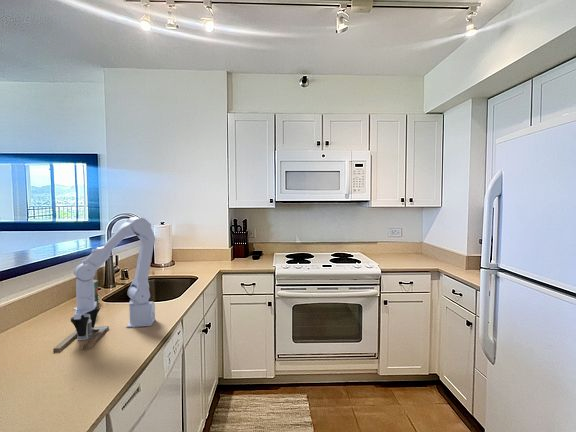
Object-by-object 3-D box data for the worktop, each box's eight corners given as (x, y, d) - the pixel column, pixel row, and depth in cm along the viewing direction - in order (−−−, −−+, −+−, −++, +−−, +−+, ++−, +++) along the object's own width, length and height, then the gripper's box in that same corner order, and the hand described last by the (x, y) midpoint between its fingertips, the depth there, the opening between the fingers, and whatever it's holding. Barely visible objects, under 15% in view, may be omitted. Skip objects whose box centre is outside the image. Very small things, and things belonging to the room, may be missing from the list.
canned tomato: (75, 305, 159) (75, 282, 158) (89, 300, 166) (89, 279, 166) (88, 306, 157) (87, 284, 156) (102, 301, 164) (101, 280, 163)
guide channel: (105, 332, 127) (105, 328, 127) (88, 349, 112) (88, 346, 112) (74, 333, 125) (74, 330, 125) (53, 352, 110) (53, 348, 110)
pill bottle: (88, 334, 125) (88, 312, 124) (94, 337, 122) (93, 315, 121) (74, 338, 121) (74, 316, 120) (80, 341, 118) (79, 318, 118)
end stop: (108, 329, 130) (108, 326, 129) (105, 332, 127) (105, 328, 127) (78, 330, 128) (78, 327, 128) (74, 333, 125) (74, 330, 125)
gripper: (82, 291, 128) (83, 324, 129) (63, 302, 114) (65, 340, 115) (101, 290, 130) (102, 323, 130) (85, 301, 115) (87, 339, 116)
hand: (86, 331), depth 123 cm, fingers open, 7 cm apart
